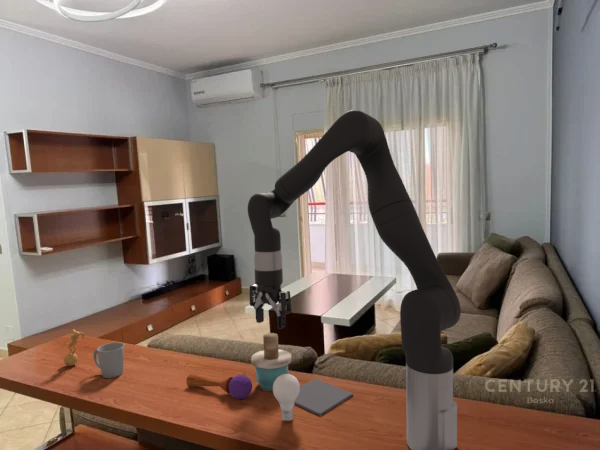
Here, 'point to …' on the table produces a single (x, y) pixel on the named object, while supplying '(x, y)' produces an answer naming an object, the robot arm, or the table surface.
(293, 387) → the lightbulb
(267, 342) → the lid
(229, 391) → the kendama
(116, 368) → the cup
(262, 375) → the teal rounded dome
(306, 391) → the mat
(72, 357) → the figurine
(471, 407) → the table surface
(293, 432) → the table surface
